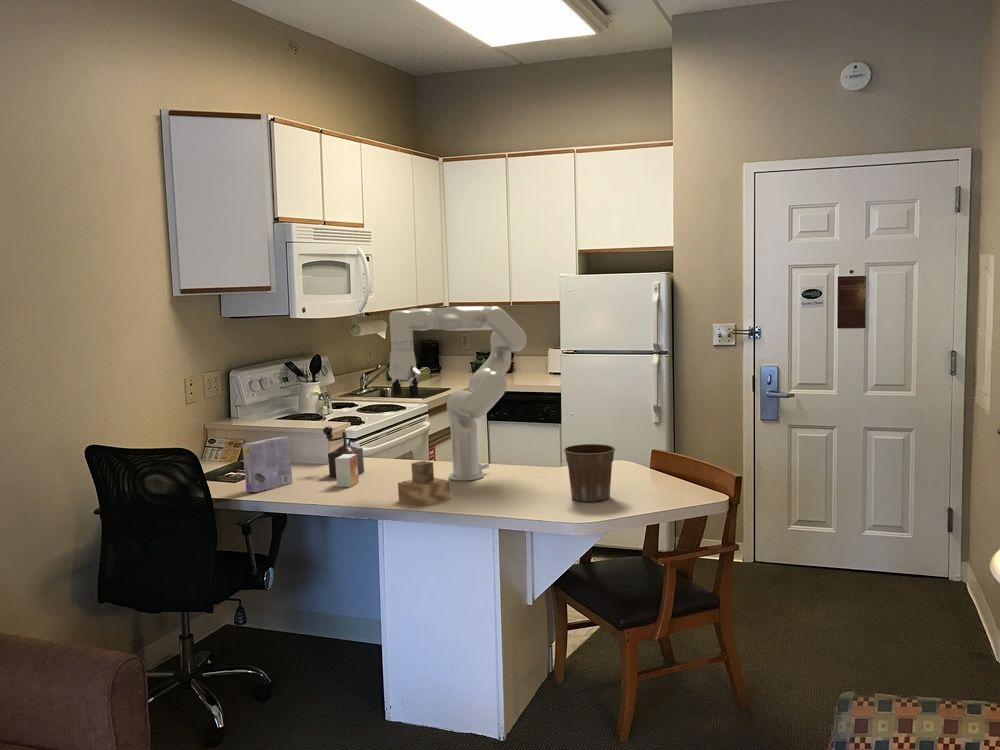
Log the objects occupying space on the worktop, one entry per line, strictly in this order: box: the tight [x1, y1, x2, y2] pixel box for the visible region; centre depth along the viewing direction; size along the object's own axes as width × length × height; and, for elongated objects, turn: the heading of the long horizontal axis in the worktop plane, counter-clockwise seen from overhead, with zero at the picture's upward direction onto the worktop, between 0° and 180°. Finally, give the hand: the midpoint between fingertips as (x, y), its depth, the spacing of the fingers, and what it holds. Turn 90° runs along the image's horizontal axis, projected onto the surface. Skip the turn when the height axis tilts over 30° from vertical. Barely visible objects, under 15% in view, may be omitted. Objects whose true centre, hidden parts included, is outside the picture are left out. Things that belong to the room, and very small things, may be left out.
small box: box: [335, 454, 360, 488], centre depth 327 cm, size 8×6×10 cm
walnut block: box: [411, 460, 435, 483], centre depth 299 cm, size 5×5×6 cm
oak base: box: [397, 477, 451, 507], centre depth 299 cm, size 12×12×6 cm
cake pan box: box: [242, 436, 293, 494], centre depth 328 cm, size 19×5×18 cm, turn 145°
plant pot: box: [563, 443, 616, 503], centre depth 290 cm, size 16×16×16 cm
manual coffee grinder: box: [322, 426, 365, 478], centre depth 345 cm, size 16×11×18 cm
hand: (405, 395), depth 315 cm, fingers open, 9 cm apart
